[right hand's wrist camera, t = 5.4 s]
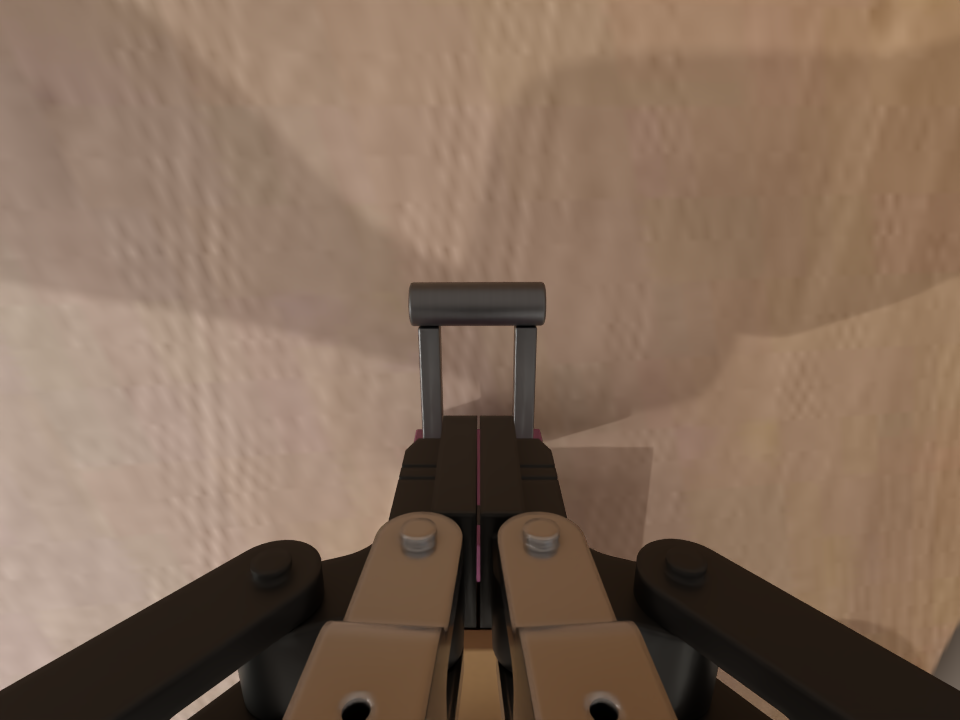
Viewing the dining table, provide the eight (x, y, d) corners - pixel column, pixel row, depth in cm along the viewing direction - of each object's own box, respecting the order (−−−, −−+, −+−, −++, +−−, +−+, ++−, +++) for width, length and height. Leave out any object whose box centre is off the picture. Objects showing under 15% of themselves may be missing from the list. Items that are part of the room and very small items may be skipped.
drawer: (408, 262, 19) (375, 319, 13) (546, 261, 19) (578, 318, 13) (432, 782, 27) (419, 963, 21) (526, 782, 27) (540, 962, 21)
